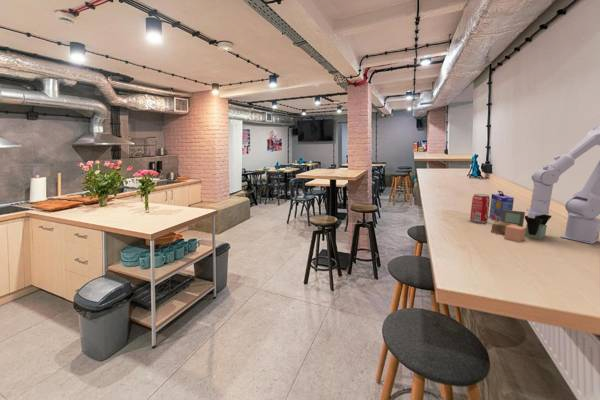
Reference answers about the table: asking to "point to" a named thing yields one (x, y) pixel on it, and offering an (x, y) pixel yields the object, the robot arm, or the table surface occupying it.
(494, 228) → the walnut block
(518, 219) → the board
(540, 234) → the green block
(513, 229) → the terracotta block
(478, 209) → the soda can
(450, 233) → the table surface
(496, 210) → the ink cartridge box
